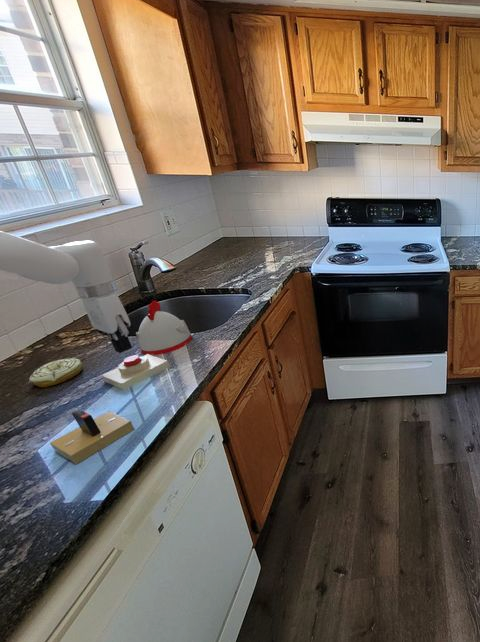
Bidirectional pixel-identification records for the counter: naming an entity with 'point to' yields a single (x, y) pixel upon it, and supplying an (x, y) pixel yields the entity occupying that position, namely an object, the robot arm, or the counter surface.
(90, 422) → the lock knob
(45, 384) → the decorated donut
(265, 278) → the counter surface
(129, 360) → the bell button
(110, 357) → the counter surface
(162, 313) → the kitchen timer
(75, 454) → the plate
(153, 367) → the block
